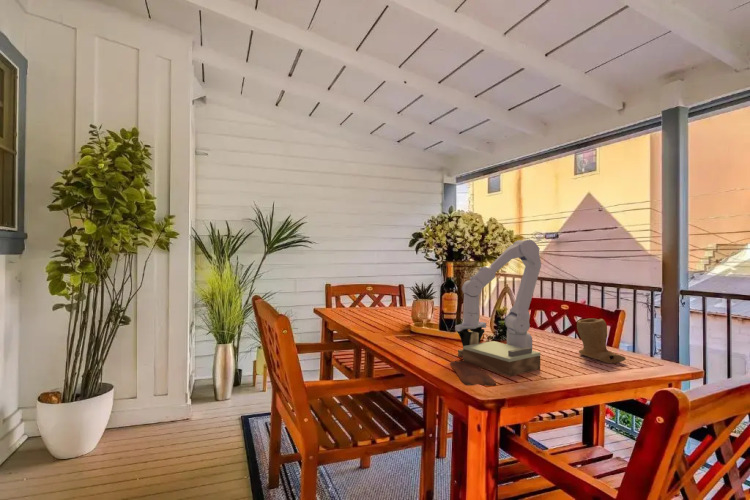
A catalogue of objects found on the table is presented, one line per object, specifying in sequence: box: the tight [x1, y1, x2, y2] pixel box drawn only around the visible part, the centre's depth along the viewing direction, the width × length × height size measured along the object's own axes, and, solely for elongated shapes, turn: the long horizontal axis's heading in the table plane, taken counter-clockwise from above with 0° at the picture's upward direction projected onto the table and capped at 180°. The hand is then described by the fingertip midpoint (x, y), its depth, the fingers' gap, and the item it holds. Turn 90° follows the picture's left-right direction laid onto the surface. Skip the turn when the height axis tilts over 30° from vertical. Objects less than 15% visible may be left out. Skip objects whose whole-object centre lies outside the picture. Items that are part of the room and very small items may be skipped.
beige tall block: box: [468, 330, 479, 345], centre depth 153 cm, size 4×4×9 cm
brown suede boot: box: [576, 318, 627, 364], centre depth 151 cm, size 15×12×15 cm
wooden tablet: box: [449, 360, 497, 387], centre depth 133 cm, size 27×10×2 cm, turn 1°
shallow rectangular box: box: [457, 348, 541, 377], centre depth 144 cm, size 16×27×4 cm, turn 33°
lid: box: [462, 340, 541, 362], centre depth 141 cm, size 16×20×3 cm
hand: (470, 348), depth 153 cm, fingers open, 4 cm apart
